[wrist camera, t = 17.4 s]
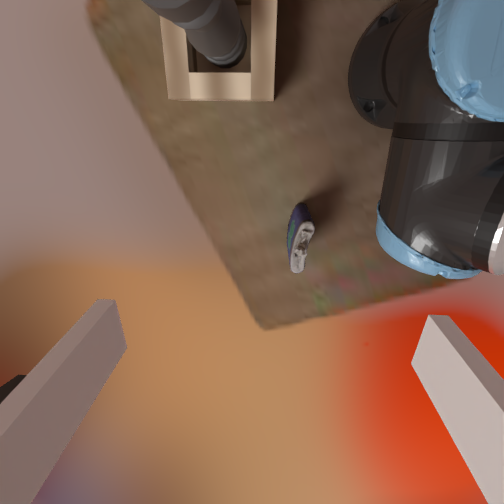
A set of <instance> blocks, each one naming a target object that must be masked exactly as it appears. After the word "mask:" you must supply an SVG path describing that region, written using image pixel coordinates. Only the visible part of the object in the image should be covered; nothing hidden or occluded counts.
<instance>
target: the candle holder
mask: <svg viewBox="0 0 504 504" xmlns="http://www.w3.org/2000/svg"><path fill="white" fill-rule="evenodd" d="M142 1H143V2H144V3H145V4H147V5H148V6H149V7H150V8H151V9H152V10H154V11H155V12H156V13H157V14H158V15H160V16H162V17H164V18H166V19H168V20H170V21H172V22H173V23H174V24H175V25H177V26H179V27H181V28H183V29H184V30H185V32H186V35H187V37H188V40H189V42H190V43H191V44H192V45H193V46H194V48H195V49H196V50H197V51H198V52H200V53H202V54H203V55H204V56H205V57H206V58H207V59H208V60H209V61H210V62H211V63H212V64H214V65H216V66H218V67H220V68H232V67H234V66H236V65H238V63H239V62H240V61H241V60H242V59H243V57H244V55H245V52H246V49H247V35H246V32H245V29H244V26H243V23H242V20H241V18H240V15H239V12H238V9H237V6H236V3H235V1H234V0H142Z"/></svg>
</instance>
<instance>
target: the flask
mask: <svg viewBox="0 0 504 504" xmlns="http://www.w3.org/2000/svg"><path fill="white" fill-rule="evenodd" d="M314 231H315V224H314V222H313V220H312V218H311V215H310V213H309V211H308V208H307V206H306V204H302V203H299V204H297V205H296V206H295V208H294V209H293V211H292V214H291V216H290V220H289V224H288V233H287V248H288V254H289V264H290V269H291V271H292V272H294V273H300V272H303V270H304V268H305V257H306V256H307V253H306V252H307V248H308V244H309V242H310V239H311V237H312V235H313V233H314Z"/></svg>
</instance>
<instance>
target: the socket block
mask: <svg viewBox="0 0 504 504" xmlns="http://www.w3.org/2000/svg"><path fill="white" fill-rule="evenodd" d="M234 1H235V3H236V6H237V9H238V12H239V15H240V18H241V20H242V23H243V26H244V29H245V32H246V35H247V49H246V52H245V55H244V57H243V59H242V60H241V61H240V62H239V63H238V65H236V66H234V67H232V68H220V67H218V66H216V65H214V64H212V63H211V62H210V61H209V60H208V59H207V58H206V57H205V56H204V55H203V54H202V53H200V52H198V51H197V50H196V49H195V48H194V46H193V45H192V44H191V43H190V42H189V40H188V37H187V35H186V32H185V30H184V29H183V28H181V27H179V26H177V25H175V24H174V23H173V22H172V21H170V20H168V19H166V18H164V17H162V16H160V23H161V32H162V42H163V51H164V60H165V70H166V79H167V89H168V98H169V99H173V100H181V101H273V100H274V74H275V48H276V22H277V0H234Z"/></svg>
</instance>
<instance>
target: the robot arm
mask: <svg viewBox="0 0 504 504" xmlns="http://www.w3.org/2000/svg"><path fill="white" fill-rule="evenodd" d="M348 86H349V93H350V97H351V100H352V102H353V104H354V106H355V108H356V110H357V111H358V113H359V114H360V115H361V116H362V117H363V118H364V119H365V120H366V121H368V122H369V123H371V124H373V125H375V126H378V127H381V128H387V129H393V132H392V136H391V141H390V147H389V153H388V159H387V164H386V170H385V176H384V181H383V187H382V193H381V199H380V200H379V202H378V205H377V215H378V218H377V226H376V235H377V238H378V241H379V243H380V245H381V246H382V248H383V249H384V250H385V251H386V252H387V253H388V254H389V255H390V256H391V257H393V258H394V259H396V260H397V261H399V262H400V263H402V264H404V265H406V266H408V267H410V268H412V269H415V270H417V271H420V272H423V273H426V274H429V275H433V276H435V275H437V274H440V275H442V276H444V277H445V278H450V279H464V278H470V277H473V276H475V275H477V274H479V273H480V272H481V271H486V272H489V273H491V274H495V275H501V274H504V0H402V1H400V2H398V3H396V4H394V5H392V6H391V7H389V8H388V9H387V10H385V11H384V12H383V13H382V14H381V15H379V16H378V17H377V18H376V19H375V20H374V21H373V22H372V23H371V24H370V25H369V26H368V28H367V29H366V30H365V32H364V33H363V34H362V36H361V38H360V39H359V41H358V43H357V45H356V47H355V49H354V52H353V55H352V58H351V61H350V66H349V73H348ZM126 349H127V345H126V341H125V337H124V333H123V329H122V325H121V321H120V317H119V313H118V309H117V305H116V301H115V300H107V299H105V300H104V299H98V300H97V301H96V302H95V303H94V304H93V305H92V306H91V307H90V308H89V309H88V310H87V312H86V313H85V314H84V315H83V316H82V317H81V318H80V319H79V320H78V321H77V322H76V323H75V324H74V325H73V327H72V328H71V329H70V330H69V331H68V332H67V333H66V334H65V335H64V336H63V337H62V338H61V340H60V341H59V342H58V343H57V344H56V345H55V346H54V347H53V348H52V349H51V350H50V351H49V352H48V353H47V354H46V355H45V357H44V358H43V359H42V360H41V361H40V362H39V363H38V364H37V365H36V366H35V368H34V369H33V370H32V371H31V372H30V373H29V374H28V375H17V376H16V377H14V378H13V379H12V380H10V381H9V382H7V383H6V384H4V385H3V386H1V387H0V504H31V503H32V501H33V499H34V498H35V496H36V494H37V493H38V491H39V489H40V488H41V486H42V485H43V483H44V481H45V480H46V478H47V476H48V475H49V473H50V472H51V470H52V468H53V467H54V465H55V464H56V462H57V460H58V459H59V457H60V456H61V454H62V452H63V451H64V449H65V447H66V446H67V444H68V443H69V441H70V439H71V438H72V436H73V434H74V433H75V431H76V430H77V428H78V426H79V425H80V423H81V421H82V420H83V418H84V417H85V415H86V413H87V412H88V410H89V408H90V407H91V405H92V404H93V402H94V400H95V399H96V397H97V395H98V394H99V392H100V391H101V389H102V387H103V386H104V384H105V383H106V381H107V379H108V378H109V376H110V375H111V373H112V371H113V370H114V368H115V366H116V365H117V363H118V362H119V360H120V358H121V357H122V355H123V353H124V352H125V350H126ZM411 364H412V366H413V368H414V370H415V372H416V373H417V375H418V377H419V379H420V381H421V382H422V384H423V386H424V388H425V390H426V391H427V393H428V395H429V397H430V398H431V400H432V402H433V404H434V406H435V408H436V410H437V411H438V413H439V415H440V417H441V419H442V420H443V422H444V424H445V426H446V428H447V430H448V431H449V433H450V435H451V436H452V438H453V440H454V442H455V444H456V446H457V448H458V449H459V451H460V453H461V455H462V457H463V458H464V460H465V462H466V464H467V466H468V468H469V469H470V471H471V473H472V475H473V477H474V478H475V480H476V482H477V484H478V486H479V487H480V489H481V491H482V493H483V495H484V497H485V498H486V500H487V502H488V504H504V380H503V379H502V378H501V376H500V375H499V374H498V373H497V372H496V371H495V370H494V368H493V367H492V366H491V365H490V364H489V362H488V361H487V360H486V359H485V358H484V357H483V355H482V354H481V353H480V352H479V351H478V350H477V349H476V348H475V346H474V345H473V344H472V343H471V342H470V341H469V339H468V338H467V337H466V336H465V335H464V333H463V332H462V331H461V330H460V329H459V328H458V327H457V326H456V324H455V323H454V322H453V321H452V320H451V318H450V317H449V316H444V315H428V318H427V321H426V324H425V327H424V329H423V332H422V335H421V338H420V340H419V343H418V346H417V349H416V351H415V354H414V357H413V360H412V363H411Z"/></svg>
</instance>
